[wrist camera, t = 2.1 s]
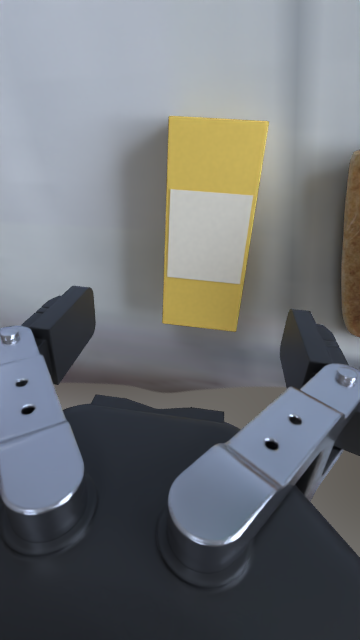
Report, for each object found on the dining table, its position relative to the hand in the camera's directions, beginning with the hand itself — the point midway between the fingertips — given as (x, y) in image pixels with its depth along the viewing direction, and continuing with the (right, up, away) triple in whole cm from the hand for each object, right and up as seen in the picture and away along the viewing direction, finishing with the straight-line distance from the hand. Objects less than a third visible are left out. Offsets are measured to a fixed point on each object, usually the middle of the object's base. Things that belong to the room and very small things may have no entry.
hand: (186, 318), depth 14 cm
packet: (+2, +7, +14) cm, 16 cm away
